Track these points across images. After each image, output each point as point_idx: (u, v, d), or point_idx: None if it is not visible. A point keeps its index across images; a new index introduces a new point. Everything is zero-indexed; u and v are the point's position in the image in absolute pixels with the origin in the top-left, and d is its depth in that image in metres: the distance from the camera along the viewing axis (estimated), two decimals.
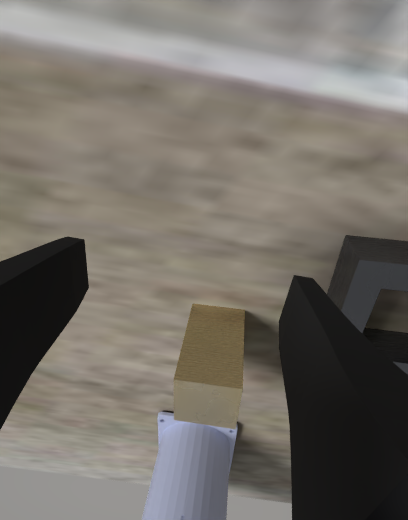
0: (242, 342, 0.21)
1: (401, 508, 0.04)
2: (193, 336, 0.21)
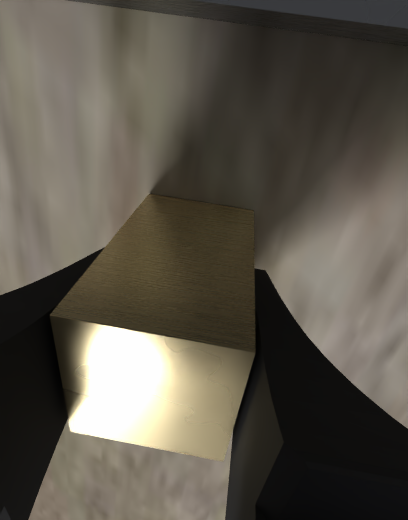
0: None
1: (279, 483, 0.04)
2: None
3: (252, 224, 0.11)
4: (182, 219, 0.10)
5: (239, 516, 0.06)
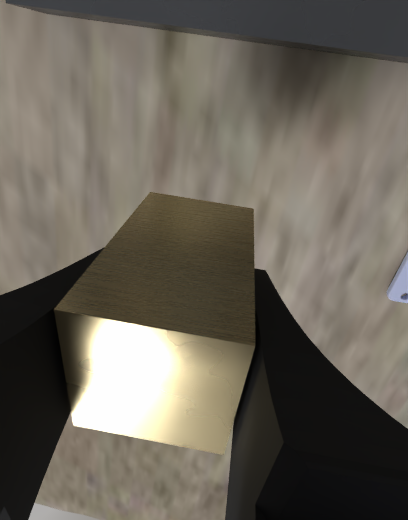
0: None
1: (279, 482, 0.04)
2: None
3: (252, 222, 0.11)
4: (183, 217, 0.11)
5: (239, 516, 0.06)
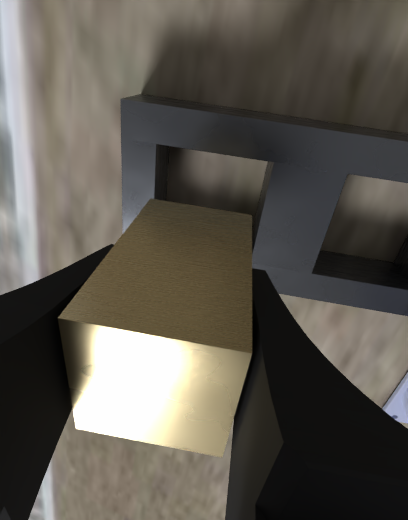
0: None
1: (279, 482, 0.04)
2: None
3: (250, 228, 0.11)
4: (182, 223, 0.11)
5: (239, 516, 0.06)
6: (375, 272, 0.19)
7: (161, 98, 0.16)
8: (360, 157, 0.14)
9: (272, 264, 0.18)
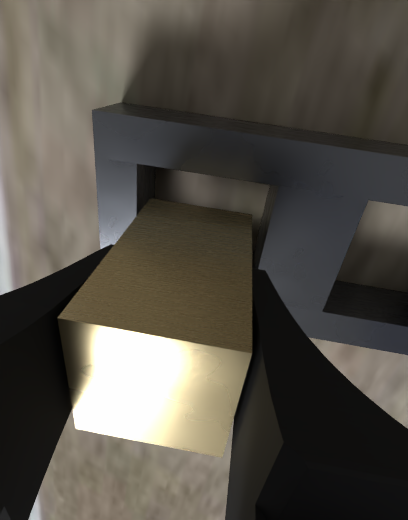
0: None
1: (280, 482, 0.04)
2: None
3: (250, 228, 0.11)
4: (182, 223, 0.11)
5: (239, 516, 0.06)
6: (395, 308, 0.16)
7: (144, 107, 0.14)
8: (385, 181, 0.12)
9: None
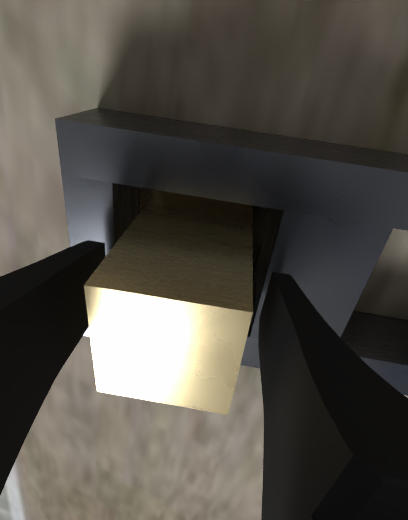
0: None
1: (344, 496, 0.04)
2: None
3: (251, 213, 0.12)
4: (188, 209, 0.12)
5: None
6: None
7: (123, 114, 0.11)
8: None
9: None
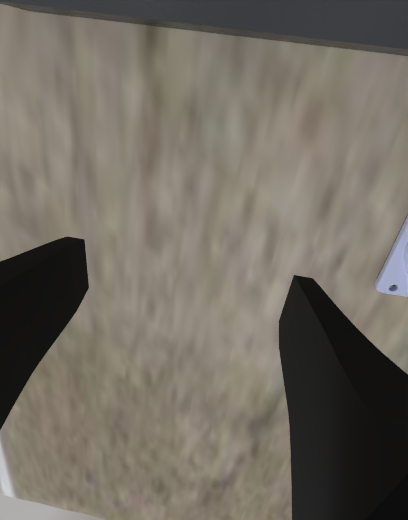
0: None
1: (401, 508, 0.04)
2: None
3: None
4: None
5: None
6: None
7: None
8: None
9: None
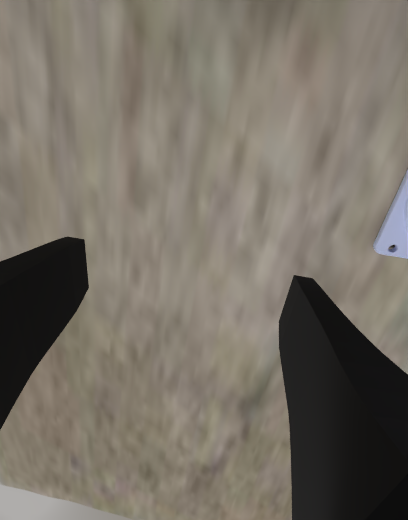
0: None
1: (401, 507, 0.04)
2: None
3: None
4: None
5: None
6: None
7: None
8: None
9: None
